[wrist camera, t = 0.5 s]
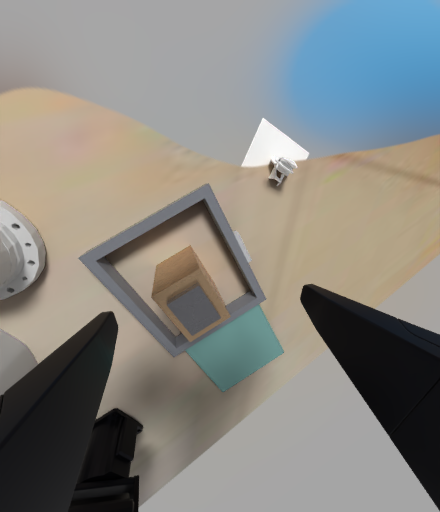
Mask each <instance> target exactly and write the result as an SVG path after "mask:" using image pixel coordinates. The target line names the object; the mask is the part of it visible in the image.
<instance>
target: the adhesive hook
mask: <svg viewBox="0 0 440 512" xmlns="http://www.w3.org/2000/svg"><path fill="white" fill-rule="evenodd" d="M270 162H271V163H272V164H274V168H273V170H272V172H271V174H270V176H269V179H275V180H277V181H278V182H279V183H278V184H277V185H276V186H278V185H279V184H280V183H281V181H282V179H283V177H284V176H285V175H286V176H288V175H289V173H292V174H293V171H292V169H293V168H298V167H297V165H296V164H295V162H294V160H293V159H290V158H287V157H284V156H282V157H279V158H278V157H277V156H275V155H274V154H273V155H272V157H271V158H270ZM276 170H278V171H279V172H281V173H282V174H281V176H280V178H278V177H277V176H276Z"/></svg>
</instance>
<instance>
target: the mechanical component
mask: <svg viewBox="0 0 440 512" xmlns="http://www.w3.org/2000/svg"><path fill="white" fill-rule="evenodd" d="M45 256H46V251H45V246H44V242H43V240H42V238H41V236H40V234H39V233H38V231H37V229H36V228H35V227H34V226H33V225H32V223H31V222H30V221H29V220H28V219H27V218H26V217H25V216H24V215H23V214H22V213H20V212H19V211H17V210H16V209H14V208H13V207H12V206H10V205H9V204H7V203H6V202H4V201H2V200H0V300H2V299H7V298H9V297H11V296H13V295H15V294H17V293H19V292H21V291H23V290H24V289H26V288H27V287H29V286H30V285H31V284H32V283H33V282H34V281H35V280H37V279H38V277H39V275H40V274H41V272H42V270H43V269H44V267H45Z"/></svg>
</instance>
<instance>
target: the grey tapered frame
mask: <svg viewBox="0 0 440 512" xmlns="http://www.w3.org/2000/svg"><path fill="white" fill-rule="evenodd" d="M202 199H203V201H204V203H205V205H206V207H207V209H208V211H209V213H210V215H211V216H212V218H213V220H214V222H215V224H216V226H217V228H218V230H219V231H220V233H221V235H222V237H223V239H224V241H225V243H226V245H227V246H228V248H229V250H230V252H231V254H232V256H233V258H234V260H235V262H236V263H237V265H238V267H239V269H240V271H241V273H242V275H243V277H244V278H245V280H246V282H247V284H248V286H249V288H250V290H251V291H249V292H247V293H246V294H244V295H243V296H241V297H239V298H238V299H236V300H235V301H233V302H231V303H230V304H228V305H227V306H226V308H227V310H228V312H229V314H230V316H231V317H230V318H228V319H227V320H225V321H223V322H222V323H220V324H219V325H217V326H215V327H214V328H212V329H211V330H209V331H207V332H206V333H204V334H203V335H201V336H199V337H198V338H196V339H195V340H193V341H191V342H189V341H188V339H187V338H186V337H185V336H184V335H183V334H182V333H181V334H180V335H178V336H177V337H175V335H174V334H173V333H172V332H171V331H170V330H169V329H168V328H167V326H166V325H165V324H164V323H163V322H162V321H161V320H160V319H159V317H158V316H157V315H156V314H155V313H154V312H153V311H152V310H151V308H150V307H149V306H148V305H147V304H146V303H145V302H144V301H143V299H142V298H141V297H140V296H139V295H138V294H137V293H136V292H135V290H134V289H133V288H132V287H131V286H130V285H129V284H128V283H127V281H126V280H125V279H124V278H123V277H122V276H121V275H120V274H119V272H118V271H117V270H116V269H115V268H114V267H113V266H112V265H111V263H110V262H109V261H108V260H107V259H106V258H105V257H104V256H105V255H107V254H109V253H110V252H112V251H114V250H116V249H117V248H119V247H121V246H123V245H124V244H126V243H128V242H130V241H131V240H133V239H135V238H136V237H138V236H140V235H142V234H143V233H145V232H147V231H149V230H150V229H152V228H154V227H156V226H157V225H159V224H161V223H162V222H164V221H166V220H168V219H169V218H171V217H173V216H175V215H176V214H178V213H180V212H182V211H183V210H185V209H187V208H188V207H190V206H192V205H194V204H195V203H197V202H199V201H201V200H202ZM78 259H79V260H80V261H81V262H82V263H83V264H84V265H85V266H86V267H87V268H88V269H89V270H90V271H91V272H92V273H93V274H94V275H95V276H96V277H97V278H98V279H99V280H100V281H101V282H102V283H103V284H104V285H105V287H106V288H107V289H108V290H109V291H110V292H111V293H112V294H113V295H114V296H115V297H116V298H117V299H118V300H119V301H120V302H121V303H122V304H123V305H124V306H125V307H126V308H127V309H128V310H129V311H130V312H131V313H132V314H133V316H134V317H135V318H136V319H137V320H138V321H139V322H140V323H141V324H142V325H143V326H144V327H145V328H146V329H147V330H148V331H149V332H150V333H151V334H152V335H153V336H154V337H155V338H156V339H157V340H158V341H159V342H160V343H161V344H162V346H163V347H164V348H165V349H166V350H167V351H168V352H169V353H170V354H171V355H172V356H173V357H175V356H177V355H178V354H180V353H182V352H183V351H185V350H186V349H188V348H190V347H191V346H193V345H194V344H196V343H198V342H199V341H201V340H202V339H204V338H206V337H207V336H209V335H210V334H212V333H214V332H215V331H217V330H218V329H220V328H221V327H223V326H225V325H226V324H228V323H229V322H231V321H233V320H234V319H236V318H237V317H239V316H241V315H242V314H244V313H245V312H247V311H249V310H250V309H252V308H253V307H255V306H257V305H258V304H260V303H261V302H263V301H264V300H266V298H265V296H264V294H263V292H262V290H261V288H260V286H259V284H258V282H257V280H256V277H255V275H254V273H253V271H252V269H251V267H250V265H249V262H250V261H252V259H251V257H250V255H249V253H248V251H247V249H246V247H245V245H244V243H243V241H242V239H241V237H240V235H239V233H238V232H237V231H234V232H233V231H232V229H231V227H230V225H229V223H228V221H227V219H226V217H225V215H224V213H223V211H222V209H221V207H220V205H219V203H218V201H217V199H216V197H215V195H214V193H213V191H212V189H211V187H210V185H209V183H208V184H204V185H202V186H201V187H199V188H197V189H195V190H194V191H192V192H190V193H188V194H187V195H185V196H183V197H181V198H180V199H178V200H176V201H174V202H173V203H171V204H169V205H167V206H166V207H164V208H162V209H160V210H159V211H157V212H155V213H153V214H152V215H150V216H148V217H146V218H145V219H143V220H141V221H139V222H138V223H136V224H134V225H132V226H131V227H129V228H127V229H125V230H124V231H122V232H120V233H118V234H117V235H115V236H113V237H111V238H110V239H108V240H106V241H104V242H103V243H101V244H99V245H97V246H96V247H94V248H92V249H90V250H89V251H87V252H86V253H84V254H83V255H82V256H80V257H79V258H78Z"/></svg>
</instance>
